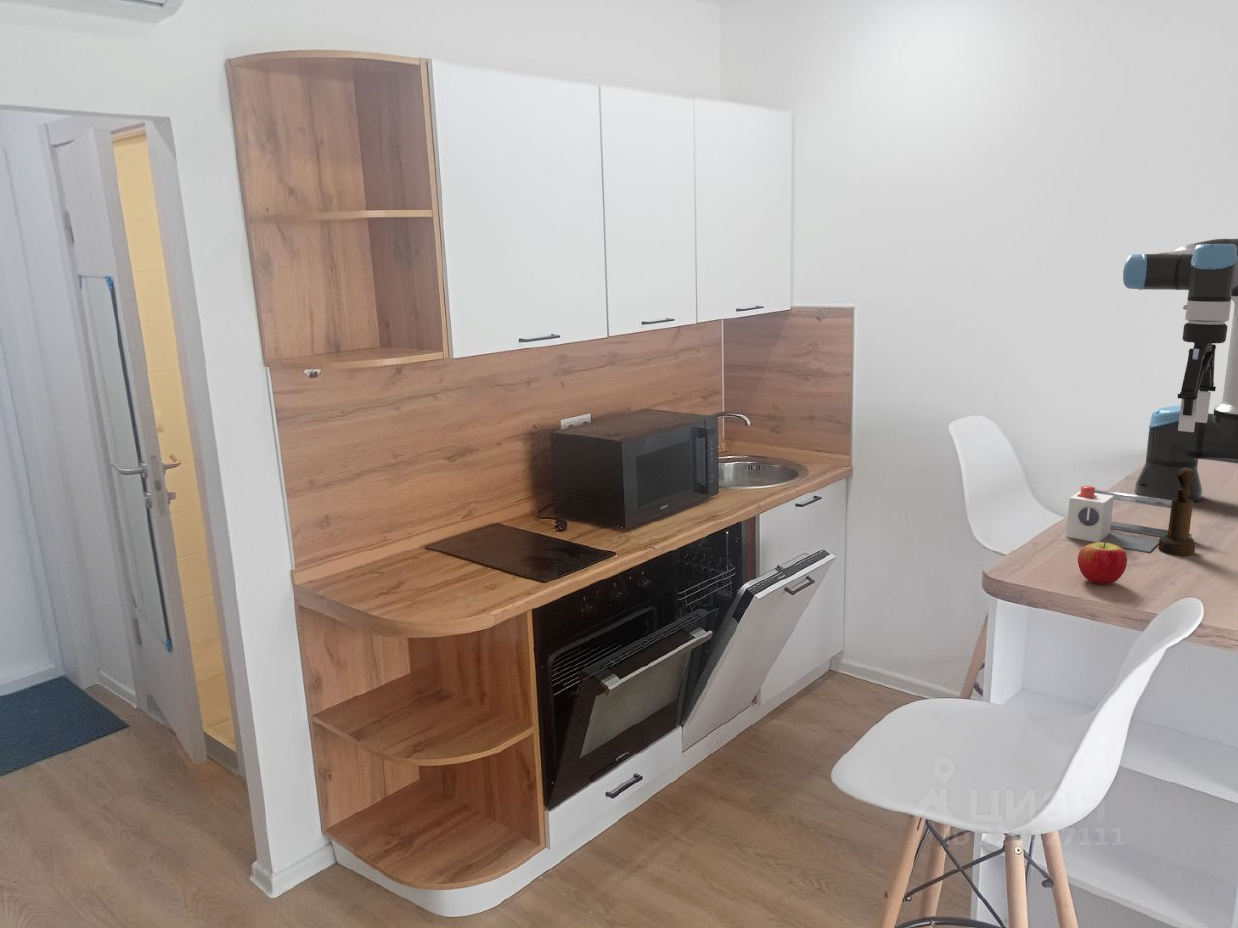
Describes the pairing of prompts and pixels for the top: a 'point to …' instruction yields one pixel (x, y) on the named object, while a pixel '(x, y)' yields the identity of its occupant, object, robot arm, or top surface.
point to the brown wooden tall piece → (1180, 519)
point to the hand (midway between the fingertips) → (1192, 426)
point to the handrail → (1138, 500)
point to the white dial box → (1089, 517)
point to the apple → (1102, 562)
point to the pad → (1131, 542)
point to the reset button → (1087, 492)
